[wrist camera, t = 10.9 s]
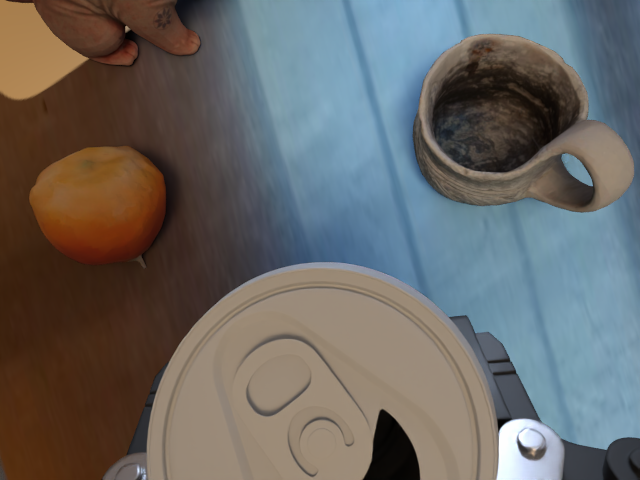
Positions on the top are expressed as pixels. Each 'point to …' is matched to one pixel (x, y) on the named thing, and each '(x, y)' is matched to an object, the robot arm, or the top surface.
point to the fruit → (101, 205)
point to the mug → (514, 128)
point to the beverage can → (323, 386)
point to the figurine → (116, 27)
